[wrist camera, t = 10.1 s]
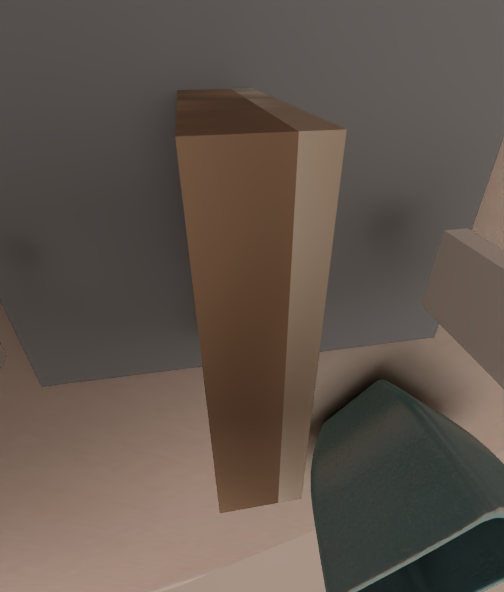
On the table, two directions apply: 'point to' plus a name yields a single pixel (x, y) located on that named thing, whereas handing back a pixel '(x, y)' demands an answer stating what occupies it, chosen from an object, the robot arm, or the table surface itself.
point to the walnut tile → (258, 277)
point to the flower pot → (405, 499)
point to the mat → (165, 170)
